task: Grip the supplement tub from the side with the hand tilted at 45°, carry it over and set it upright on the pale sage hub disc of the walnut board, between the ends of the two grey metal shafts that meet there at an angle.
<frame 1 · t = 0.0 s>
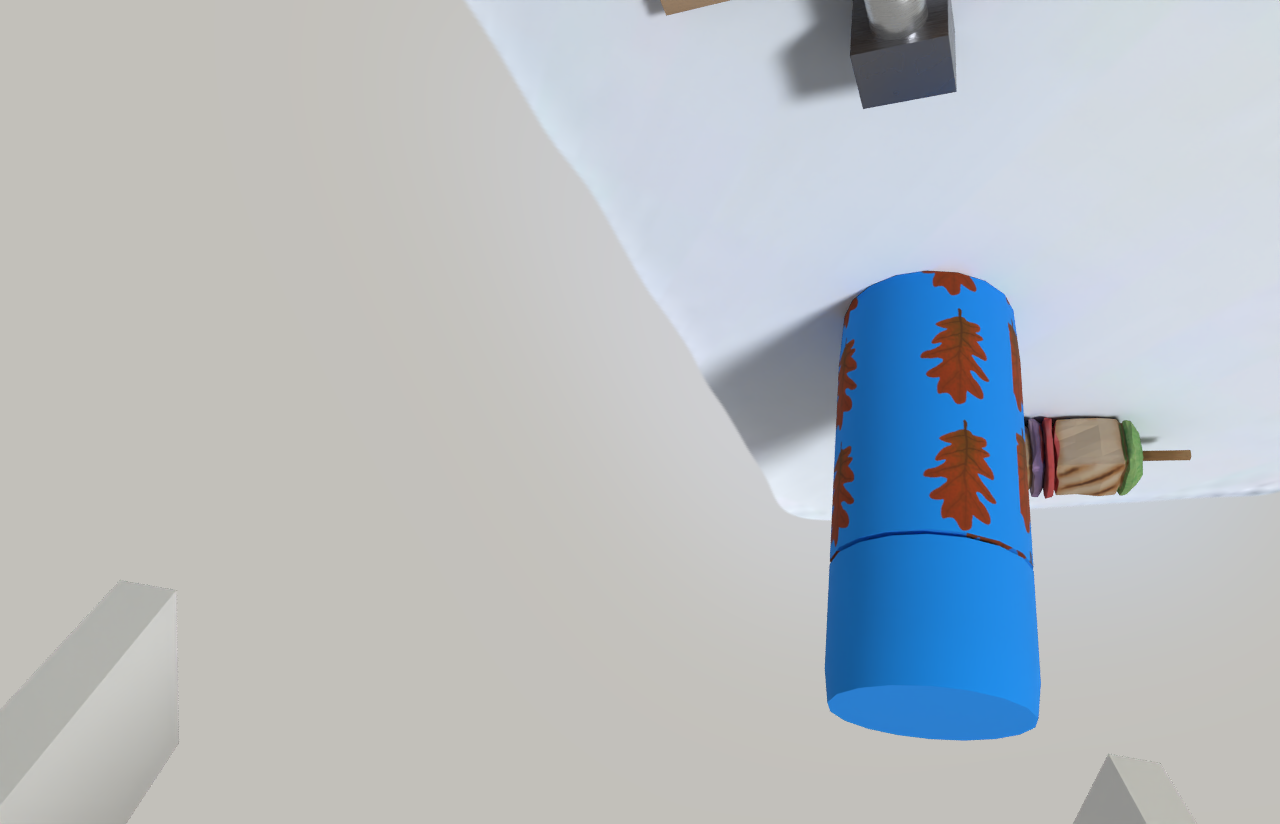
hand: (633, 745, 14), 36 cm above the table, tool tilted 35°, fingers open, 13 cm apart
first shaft: (897, 4, 41), on the table
thermos: (927, 319, 63), on the table
skewer: (1028, 427, 73), on the table
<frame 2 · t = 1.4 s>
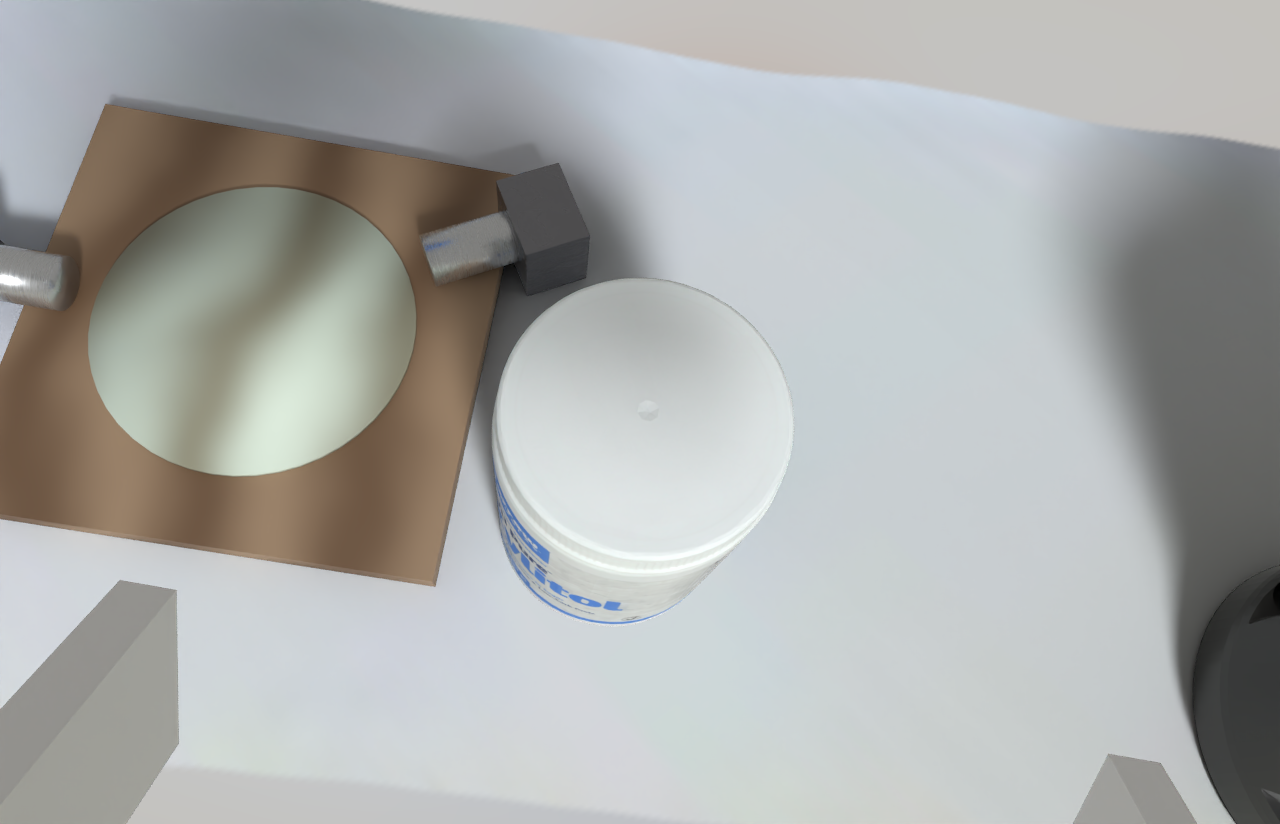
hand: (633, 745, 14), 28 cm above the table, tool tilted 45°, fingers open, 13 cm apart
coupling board: (264, 336, 45), on the table
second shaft: (501, 243, 45), on the table
supplement tub: (610, 523, 44), on the table
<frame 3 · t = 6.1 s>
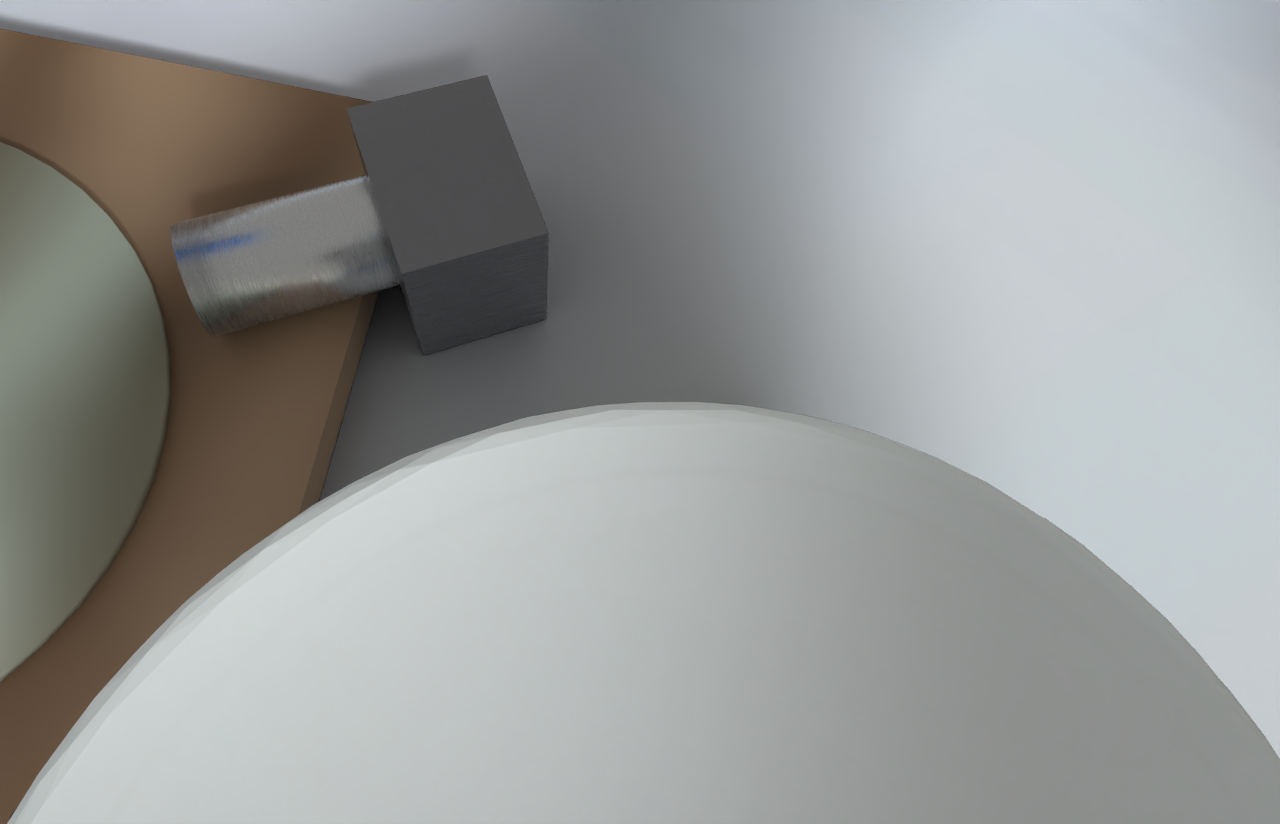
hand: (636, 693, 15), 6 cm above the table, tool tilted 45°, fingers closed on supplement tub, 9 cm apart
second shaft: (364, 245, 21), on the table
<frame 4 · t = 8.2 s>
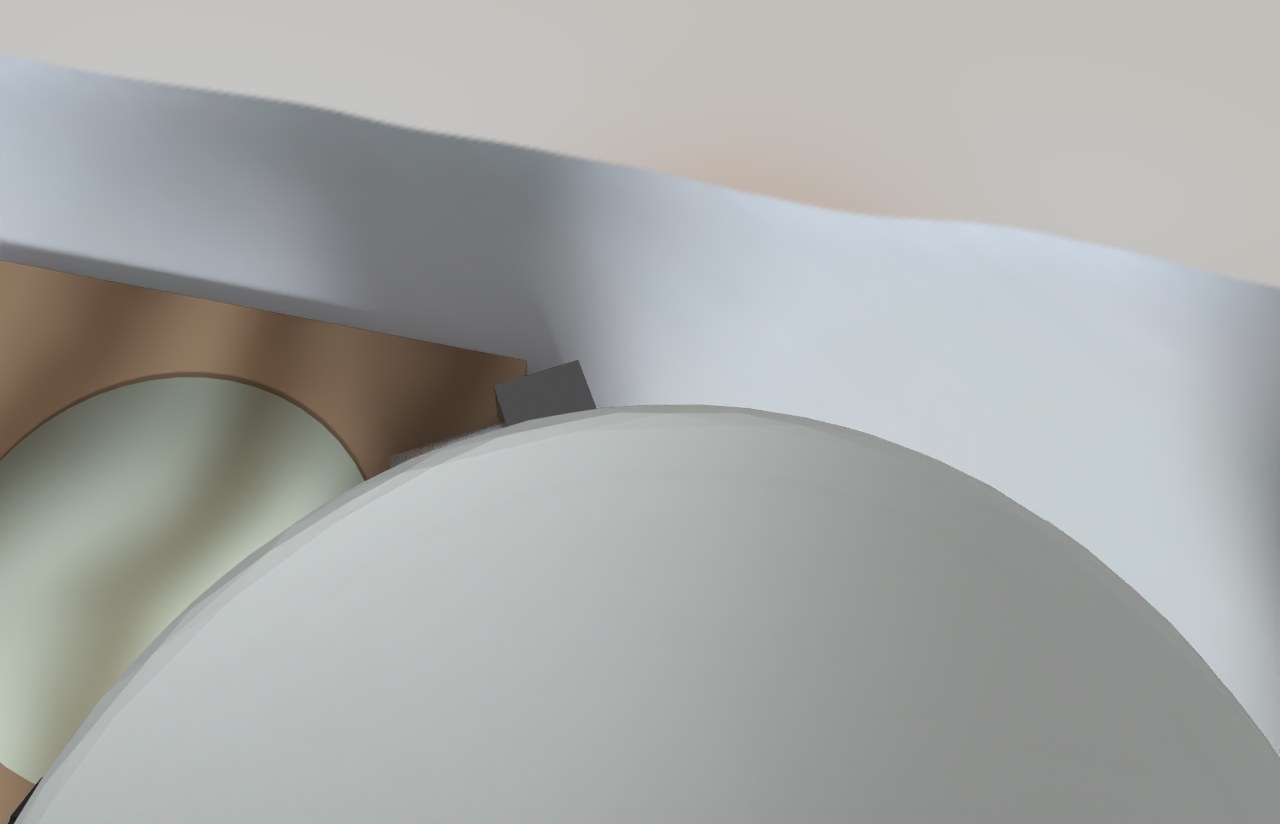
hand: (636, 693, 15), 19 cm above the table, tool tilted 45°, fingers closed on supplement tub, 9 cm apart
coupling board: (180, 582, 34), on the table
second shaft: (500, 461, 34), on the table
when the fingers open (8 cm above the table, at t = 12.1 s): supplement tub stays where it is, resting on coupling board.
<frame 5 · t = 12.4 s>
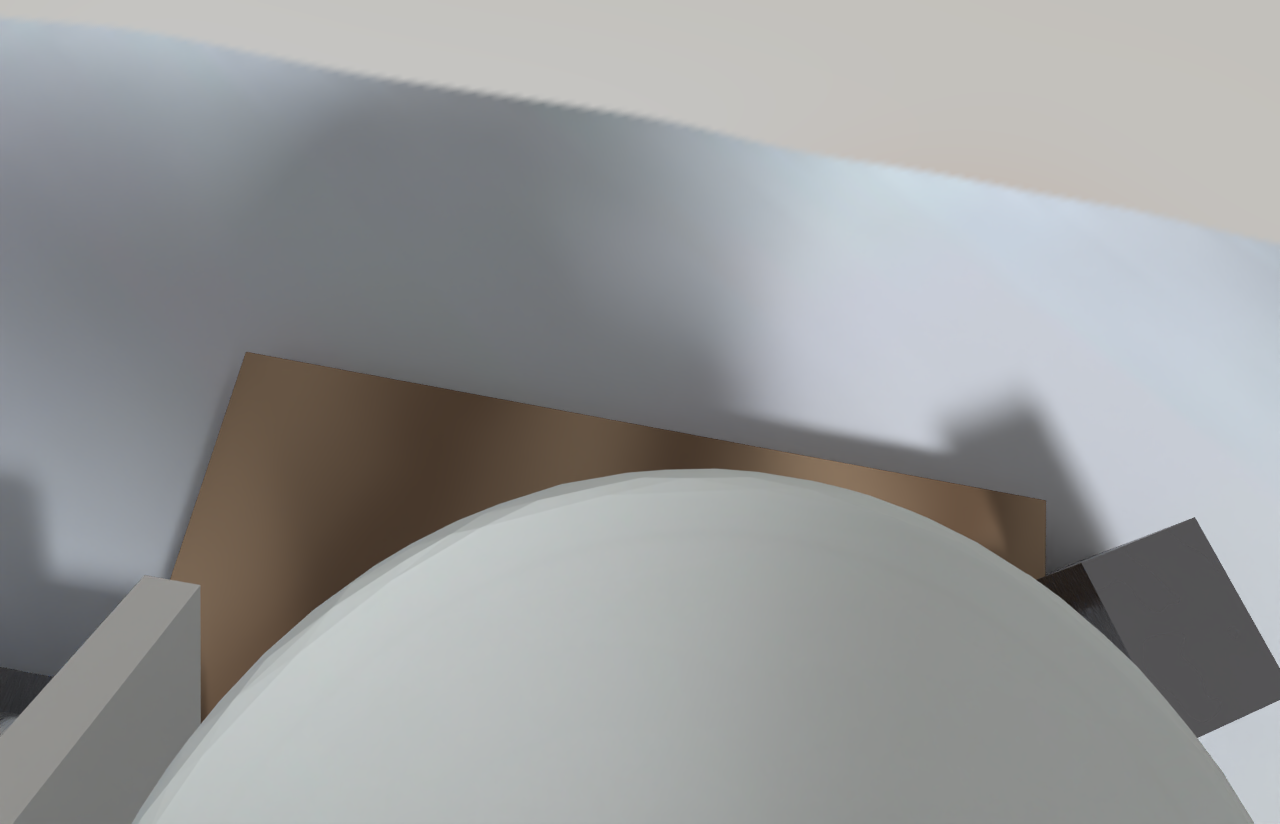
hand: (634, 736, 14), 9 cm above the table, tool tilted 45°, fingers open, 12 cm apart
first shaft: (6, 778, 19), on the table
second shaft: (1059, 670, 22), on the table
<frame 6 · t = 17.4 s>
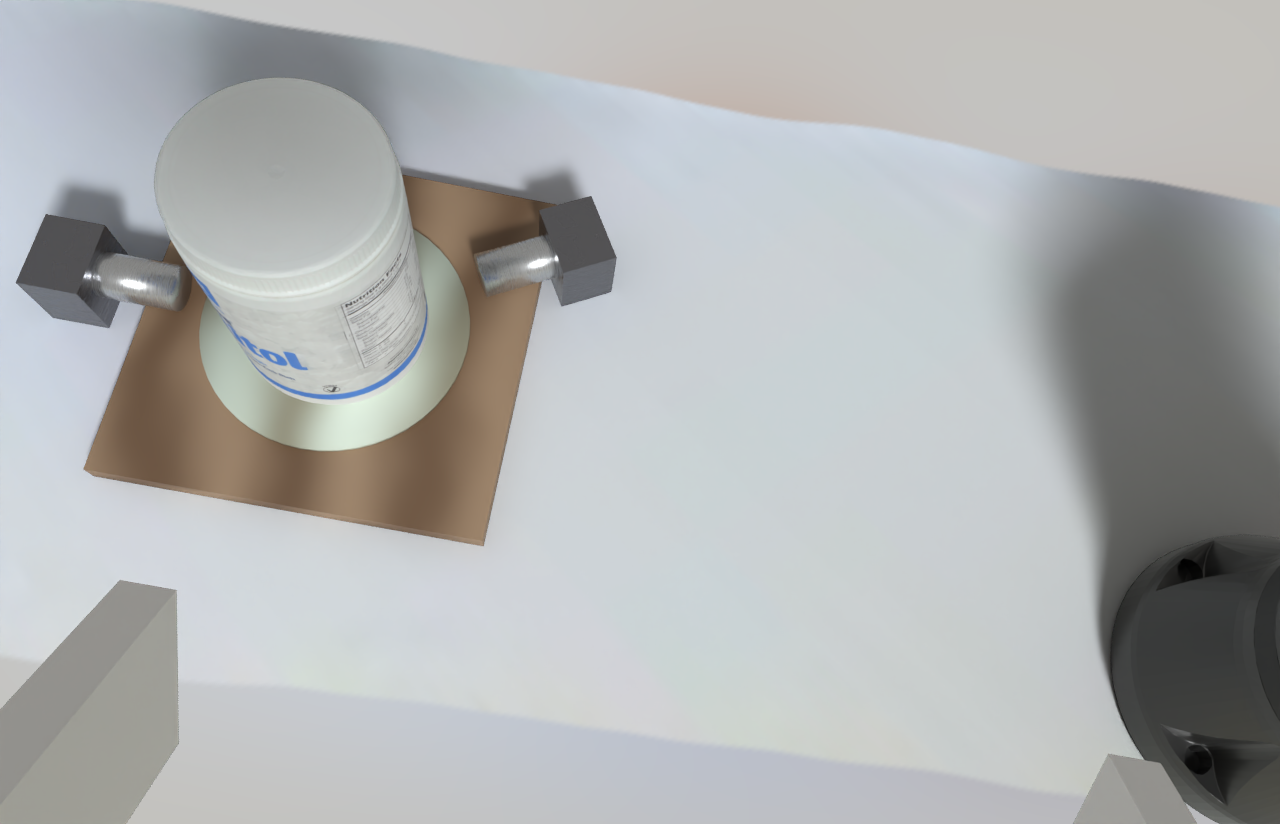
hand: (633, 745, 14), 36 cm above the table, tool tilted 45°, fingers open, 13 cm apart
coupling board: (342, 336, 53), on the table
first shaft: (116, 279, 51), on the table
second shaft: (542, 261, 54), on the table
supplement tub: (342, 329, 52), point 1 cm above the table, touching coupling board
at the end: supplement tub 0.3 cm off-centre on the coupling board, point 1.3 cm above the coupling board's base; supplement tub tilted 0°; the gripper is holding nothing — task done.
